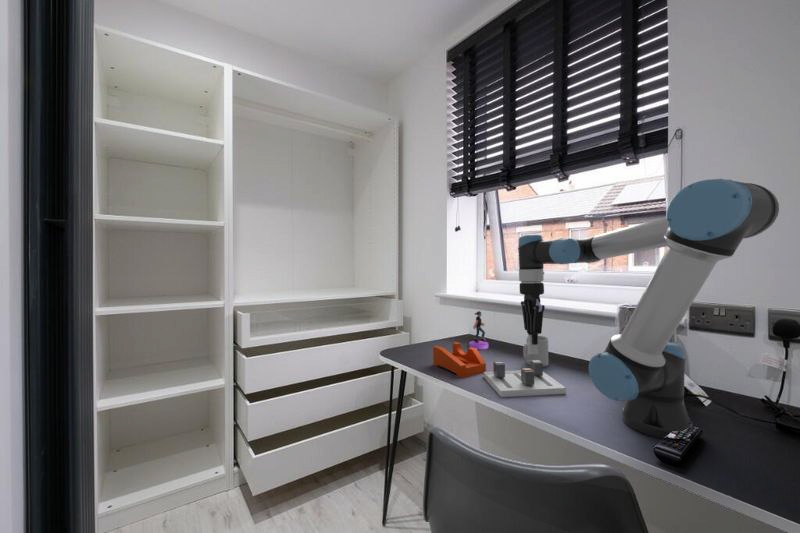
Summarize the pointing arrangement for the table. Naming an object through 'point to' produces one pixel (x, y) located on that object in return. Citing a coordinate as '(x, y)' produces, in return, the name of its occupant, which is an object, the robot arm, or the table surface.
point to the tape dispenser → (459, 360)
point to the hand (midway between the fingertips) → (533, 353)
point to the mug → (542, 351)
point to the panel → (523, 385)
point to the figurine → (476, 343)
